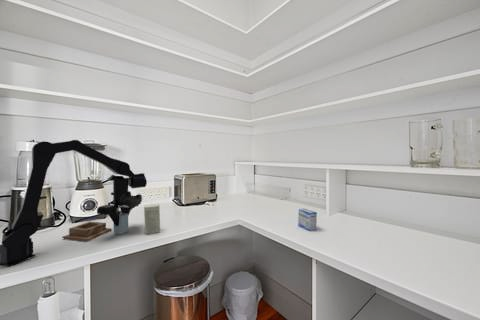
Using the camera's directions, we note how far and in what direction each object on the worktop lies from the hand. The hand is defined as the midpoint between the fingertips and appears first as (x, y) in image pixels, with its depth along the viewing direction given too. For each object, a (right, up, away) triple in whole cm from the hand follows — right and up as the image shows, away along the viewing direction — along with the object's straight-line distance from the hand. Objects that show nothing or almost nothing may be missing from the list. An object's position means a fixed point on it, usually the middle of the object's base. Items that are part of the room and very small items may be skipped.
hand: (121, 224), depth 88 cm
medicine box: (+86, -5, +8) cm, 87 cm away
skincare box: (+14, -4, +1) cm, 14 cm away
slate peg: (0, -4, 0) cm, 4 cm away
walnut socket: (-13, -4, -2) cm, 14 cm away
